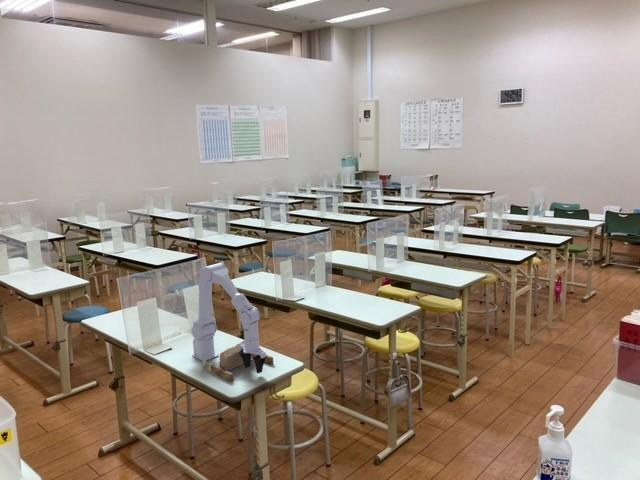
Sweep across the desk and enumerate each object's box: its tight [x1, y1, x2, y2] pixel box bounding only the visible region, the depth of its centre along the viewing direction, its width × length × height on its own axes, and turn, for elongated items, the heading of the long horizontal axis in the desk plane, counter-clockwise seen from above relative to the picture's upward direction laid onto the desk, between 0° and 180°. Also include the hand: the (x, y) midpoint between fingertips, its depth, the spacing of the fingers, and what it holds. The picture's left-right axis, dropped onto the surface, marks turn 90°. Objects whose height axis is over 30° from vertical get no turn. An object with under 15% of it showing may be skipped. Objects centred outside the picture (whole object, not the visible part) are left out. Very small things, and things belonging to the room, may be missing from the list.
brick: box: [218, 340, 254, 372], centre depth 208 cm, size 17×8×5 cm
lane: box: [202, 354, 274, 383], centre depth 208 cm, size 20×22×3 cm
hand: (253, 369), depth 201 cm, fingers open, 7 cm apart
